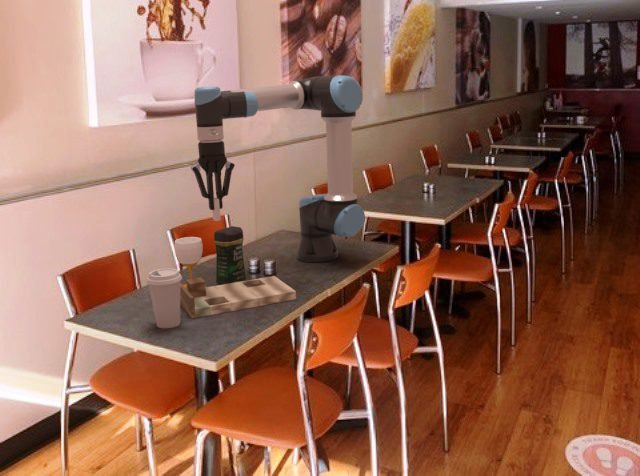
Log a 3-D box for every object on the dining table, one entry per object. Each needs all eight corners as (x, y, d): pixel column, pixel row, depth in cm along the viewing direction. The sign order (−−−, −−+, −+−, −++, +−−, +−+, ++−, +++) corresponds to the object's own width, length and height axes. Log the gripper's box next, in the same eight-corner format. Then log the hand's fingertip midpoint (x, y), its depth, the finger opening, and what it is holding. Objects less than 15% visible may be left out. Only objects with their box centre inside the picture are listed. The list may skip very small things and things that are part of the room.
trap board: (274, 283, 222) (273, 265, 220) (296, 299, 206) (295, 280, 204) (177, 300, 209) (175, 281, 207) (192, 318, 193) (190, 298, 191)
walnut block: (202, 291, 208) (201, 277, 207) (206, 295, 204) (205, 281, 203) (187, 294, 206) (186, 279, 205) (191, 298, 202) (190, 283, 201)
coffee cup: (153, 319, 193) (148, 268, 190) (187, 316, 194) (183, 266, 190) (148, 331, 184) (142, 278, 180) (184, 329, 185) (179, 276, 181)
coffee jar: (230, 288, 218) (226, 232, 213) (212, 284, 222) (208, 229, 218) (250, 280, 225) (247, 226, 221) (232, 277, 230) (229, 223, 225)
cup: (172, 289, 219) (167, 241, 215) (195, 282, 226) (191, 235, 222) (189, 294, 213) (185, 245, 209) (212, 287, 220) (208, 239, 216)
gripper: (192, 143, 192) (198, 225, 198) (236, 140, 197) (241, 219, 203) (185, 141, 199) (192, 220, 205) (228, 138, 204) (233, 215, 210)
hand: (216, 219), depth 204 cm, fingers closed
